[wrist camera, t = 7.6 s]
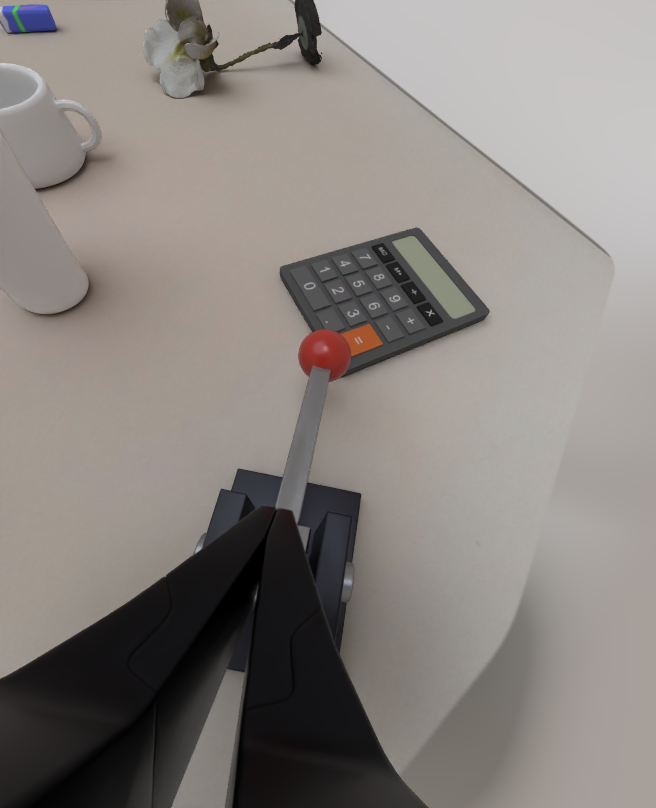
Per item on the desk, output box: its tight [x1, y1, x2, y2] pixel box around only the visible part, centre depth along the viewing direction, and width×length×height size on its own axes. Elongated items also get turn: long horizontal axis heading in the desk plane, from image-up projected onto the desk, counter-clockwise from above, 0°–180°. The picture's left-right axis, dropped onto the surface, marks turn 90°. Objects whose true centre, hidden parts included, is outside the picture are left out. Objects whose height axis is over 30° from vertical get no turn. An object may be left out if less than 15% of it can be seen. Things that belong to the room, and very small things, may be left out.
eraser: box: [0, 5, 56, 33], centre depth 44 cm, size 2×6×2 cm, turn 111°
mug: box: [0, 63, 102, 189], centre depth 31 cm, size 12×10×6 cm
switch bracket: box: [194, 469, 361, 672], centre depth 16 cm, size 10×8×10 cm
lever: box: [251, 329, 351, 610], centre depth 17 cm, size 15×3×3 cm, turn 170°
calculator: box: [280, 228, 490, 376], centre depth 30 cm, size 12×1×15 cm
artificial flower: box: [142, 0, 322, 98], centre depth 42 cm, size 9×22×10 cm, turn 117°
